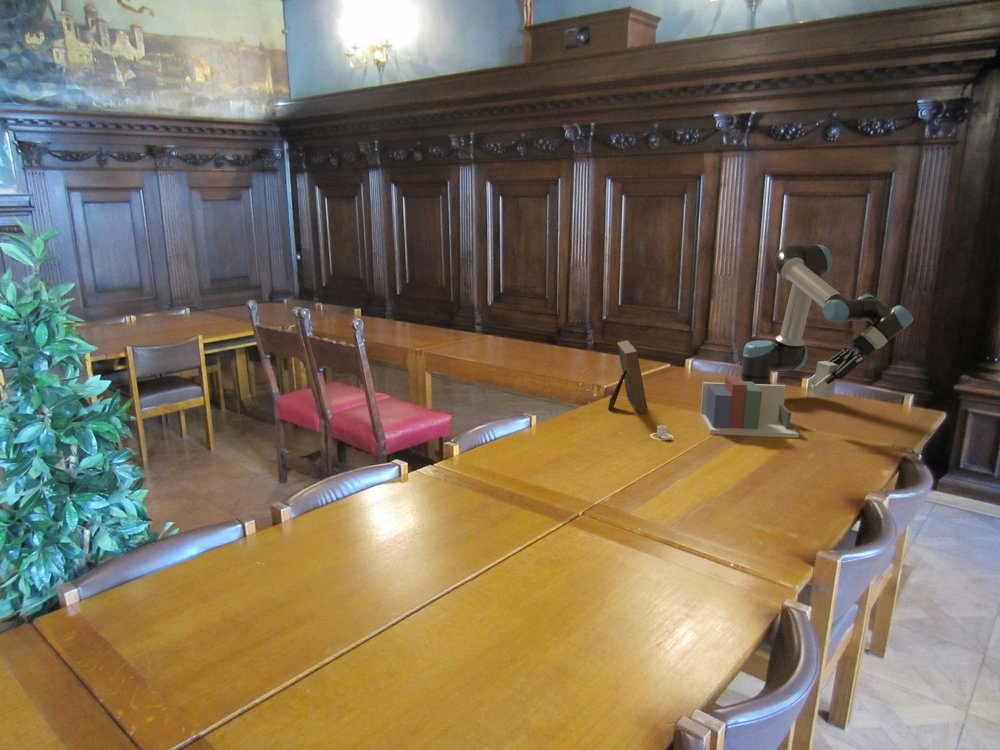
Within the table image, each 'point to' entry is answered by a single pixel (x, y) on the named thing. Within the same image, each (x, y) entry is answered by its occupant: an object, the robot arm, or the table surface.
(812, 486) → the table surface
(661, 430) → the coiled charger cable
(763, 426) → the book shelf
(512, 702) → the table surface
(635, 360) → the photo frame
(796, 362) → the robot arm
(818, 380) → the skincare box
